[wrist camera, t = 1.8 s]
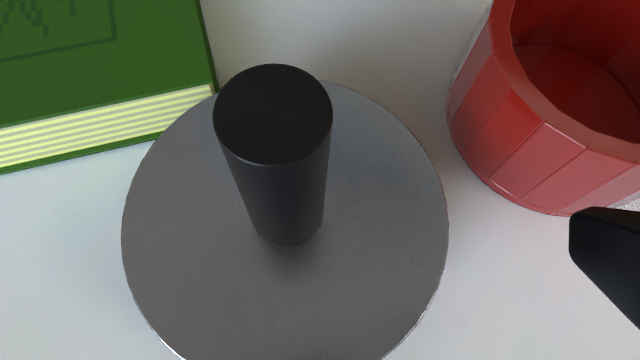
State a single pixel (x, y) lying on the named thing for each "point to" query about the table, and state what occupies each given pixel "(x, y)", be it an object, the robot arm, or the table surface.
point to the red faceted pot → (552, 103)
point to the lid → (284, 224)
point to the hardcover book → (96, 75)
